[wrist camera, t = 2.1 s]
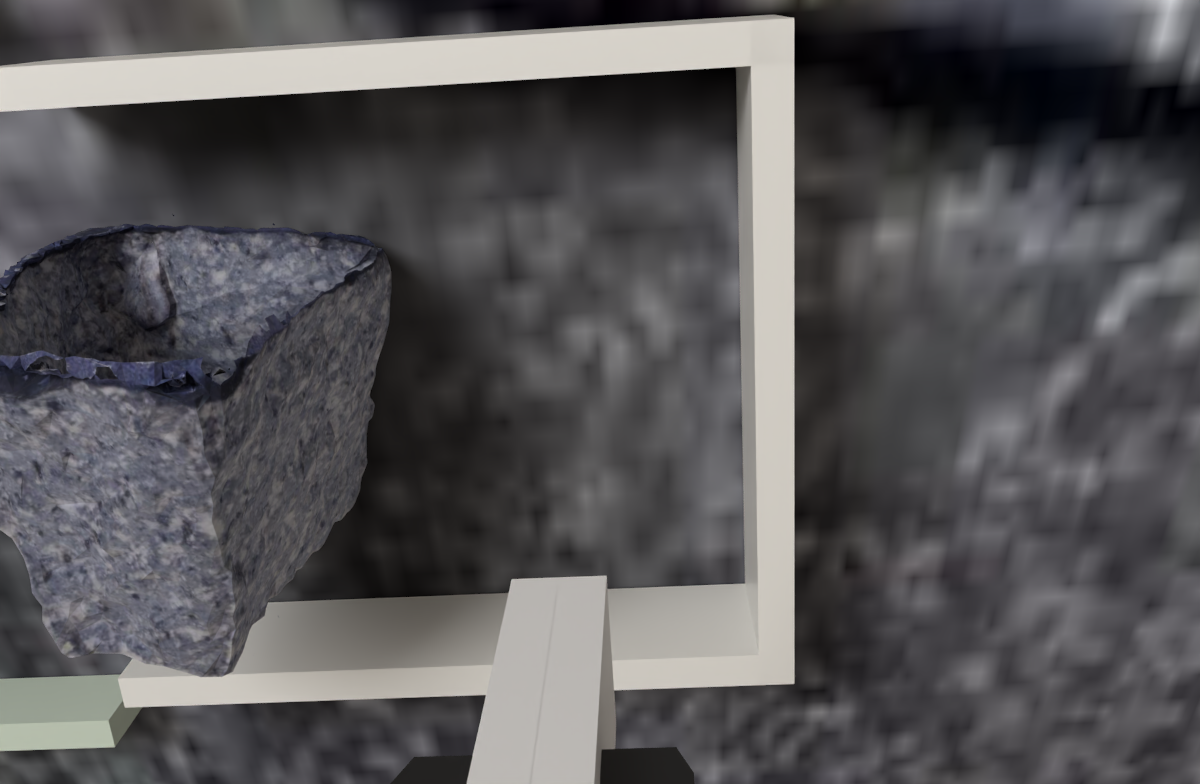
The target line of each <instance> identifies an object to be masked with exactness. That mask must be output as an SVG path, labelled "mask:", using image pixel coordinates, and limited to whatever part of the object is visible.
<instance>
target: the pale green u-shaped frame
mask: <svg viewBox="0 0 1200 784" xmlns="http://www.w3.org/2000/svg"><path fill="white" fill-rule="evenodd" d="M119 676H120V675H94V676H67V677H39V678H12V679H0V751H16V750H46V749H76V748H105V747H116V745H117V744H118V742H119V741H120V739H121V738H122V736H123V735H124V733H125V732H126V731H127V729H128V728H129V726H130V725H131V723H132V722H133V720H134V719H135V717H136V716H137V714H138V713H139V711H140V710H141V709H142V707H130V708H125V706H124V702H123V698H122V694H121V690H120V686H119V682H118V678H119Z"/></svg>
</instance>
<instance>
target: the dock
mask: <svg viewBox="0 0 1200 784" xmlns="http://www.w3.org/2000/svg"><path fill="white" fill-rule="evenodd" d="M727 67H736V101H737V158H738V215H739V272H740V329H741V386H742V442H743V499H744V556H745V584H722V585H697V586H671V587H646V588H621V589H607V591H608V606H609V621H610V636H611V652H612V667H613V682H614V690H637V689H665V688H694V687H722V686H750V685H778V684H794V18H791V17H784V16H778V15H760V16H744V17H728V18H712V19H696V20H680V21H665V22H649V23H633V24H617V25H601V26H585V27H569V28H553V29H537V30H521V31H505V32H489V33H473V34H457V35H442V36H426V37H410V38H394V39H378V40H362V41H346V42H330V43H314V44H298V45H282V46H266V47H250V48H234V49H218V50H203V51H187V52H171V53H155V54H139V55H123V56H107V57H91V58H75V59H59V60H47V61H39V62H30V63H22V64H13V65H5V66H0V112H2V111H19V110H35V109H51V108H68V107H84V106H101V105H117V104H134V103H150V102H167V101H183V100H200V99H216V98H233V97H249V96H266V95H282V94H298V93H315V92H331V91H348V90H364V89H381V88H397V87H414V86H430V85H447V84H463V83H480V82H496V81H512V80H529V79H545V78H562V77H578V76H595V75H611V74H628V73H644V72H661V71H677V70H694V69H710V68H727ZM508 594H509V593H495V594H470V595H444V596H419V597H394V598H369V599H343V600H318V601H293V602H268V604H267V607H266V611H265V616H264V617H262V618H261V619H260V620H258V621H257V622H256V623H255V624H253V625H252V627H251V629H250V631H249V634H248V637H247V640H246V643H245V646H244V649H243V653H242V654H241V656H240V658H239V660H238V662H237V664H236V666H235V668H234V671H233V672H232V673H229V674H227V675H225V676H223V677H199V676H196V675H192V674H189V673H185V672H182V671H178V670H175V669H171V668H168V667H164V666H158V665H151V664H145V663H143V662H140V661H138V660H136V659H132V660H131V661H130V663H129V664H128V666H127V667H126V668H125V670H124V671H123V672H122V674H121V675H120V676H119V678H118V682H119V686H120V690H121V694H122V698H123V702H124V706H125V708H130V707H158V706H186V705H214V704H242V703H271V702H299V701H327V700H355V699H383V698H412V697H440V696H468V695H486V693H487V689H488V684H489V680H490V675H491V671H492V666H493V662H494V657H495V653H496V648H497V643H498V639H499V634H500V630H501V625H502V621H503V616H504V612H505V607H506V603H507V598H508ZM278 616H279V617H278Z"/></svg>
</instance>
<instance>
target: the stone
mask: <svg viewBox="0 0 1200 784" xmlns="http://www.w3.org/2000/svg"><path fill="white" fill-rule="evenodd" d="M173 216H174V215H173ZM273 225H274V223H273ZM152 241H153V244H152ZM116 266H118V267H119V268H120V269H122V270H123V271H122V270H120V269H119V268H117V267H116ZM124 271H125V272H126V273H127V274H126V273H125V272H124ZM391 285H392V279H391V269H390V265H389V261H388V258H387V256H386V254H385V252H384V250H383V249H382V248H377V247H376V246H374V244H373V243H372V242H371V241H369V240H368V239H366V238H364V237H361V236H354V235H344V234H338V235H336V234H334V233H331V232H329V233H324V232H314V233H311V234H308V235H307V234H303V233H301V232H299V231H297V230H294V229H291V228H260V229H258V230H255V229H242V228H235V227H224V228H214V227H203V226H190V225H186V226H179V227H171V226H165V225H160V226H157V227H155V226H153V225H149V224H144V225H141V226H133V225H130V224H124V225H121V226H113V227H105V228H90V229H87V230H84V231H81V232H78V233H76V234H75V235H72V236H67V237H66V238H65V239H63V240H60V241H57V242H54V243H52V244H50V245H48V246H46V247H44V248H41V249H39V250H37V251H34V252H32V253H31V254H28V255H26V256H24V257H23V258H21V261H20V262H17V265H15V266H10V269H9V270H5V273H4V276H3V277H2V278H0V530H1V531H2V532H4V533H5V534H7V535H8V536H9V537H11V538H12V539H13V541H14V542H15V544H16V546H17V547H18V549H19V551H20V553H21V554H22V556H23V558H24V560H25V563H26V566H27V569H28V572H29V576H30V581H31V588H32V594H33V595H34V596H35V597H36V599H37V600H38V601H39V603H40V604H41V605H42V622H43V623H44V625H45V626H46V628H47V630H48V631H49V633H50V634H51V636H52V638H53V639H54V641H55V643H56V644H57V646H58V648H59V649H60V651H61V653H63V654H65V655H66V656H68V657H69V658H72V657H78V656H83V655H88V654H92V653H108V654H124V655H126V656H129V657H131V658H133V659H136V660H138V661H140V662H143V663H145V664H151V665H158V666H164V667H168V668H171V669H175V670H178V671H182V672H185V673H189V674H192V675H196V676H199V677H223V676H225V675H227V674H229V673H232V672H233V671H234V668H235V666H236V664H237V662H238V660H239V658H240V656H241V654H242V653H243V649H244V646H245V643H246V640H247V637H248V634H249V631H250V629H251V627H252V625H253V624H255V623H256V622H257V621H258V620H260V619H261V618H262V617H264V616H265V611H266V607H267V604H268V601H269V599H270V598H272V597H275V596H277V595H278V594H279V593H280V591H281V590H282V589H283V587H284V586H285V585H286V584H287V583H288V582H290V581H291V580H292V579H294V578H293V577H294V576H295V573H296V571H297V570H299V569H301V568H302V567H303V566H304V564H305V563H306V561H307V560H308V558H309V557H310V555H311V554H312V553H313V552H316V551H318V550H319V549H320V548H321V547H322V546H323V545H324V543H325V541H326V539H327V537H328V535H329V533H330V531H331V529H332V526H333V524H334V522H336V521H340V520H342V518H343V517H344V516H345V515H346V513H347V512H349V511H350V510H351V508H352V507H353V506H354V504H355V502H356V499H357V497H358V494H359V491H360V484H361V479H362V475H363V473H364V470H365V468H366V465H367V463H368V462H367V429H368V422H369V420H370V419H371V418H372V416H373V413H374V407H375V404H374V402H373V400H372V399H371V397H370V392H371V389H372V386H373V383H374V379H375V376H376V365H377V362H378V359H379V355H380V352H381V349H382V346H383V343H384V340H385V336H386V333H387V329H388V325H389V315H390V299H391ZM136 333H138V335H137V334H136ZM278 617H279V616H278Z"/></svg>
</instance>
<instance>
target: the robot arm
mask: <svg viewBox="0 0 1200 784" xmlns="http://www.w3.org/2000/svg"><path fill="white" fill-rule="evenodd" d="M615 739H616V712H615V697H614V682H613V667H612V652H611V636H610V621H609V606H608V591H607V576H585V577H557V578H529V579H512V580H511V585H510V589H509V594H508V598H507V603H506V607H505V612H504V616H503V621H502V625H501V630H500V634H499V639H498V643H497V648H496V653H495V657H494V662H493V666H492V671H491V675H490V680H489V684H488V689H487V693H486V698H485V702H484V707H483V711H482V716H481V720H480V725H479V729H478V734H477V739H476V743H475V748H474V752H473V755H472V756H436V757H414V758H413V759H412V760H411V761H410V762H409V764H408V765H407V766H406V767H405V768H404V769H403V770H402V771H401V773H400V774H399V775H398V776H397V777H396V778H395V779H394V780H393V782H392V783H391V784H694V773H693V771H692V770H691V768H690V767H689V765H688V764H687V762H686V761H685V760H684V758H683V757H682V755H681V754H680V752H679V751H678V749H677V748H676V747H670V748H634V749H615Z"/></svg>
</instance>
